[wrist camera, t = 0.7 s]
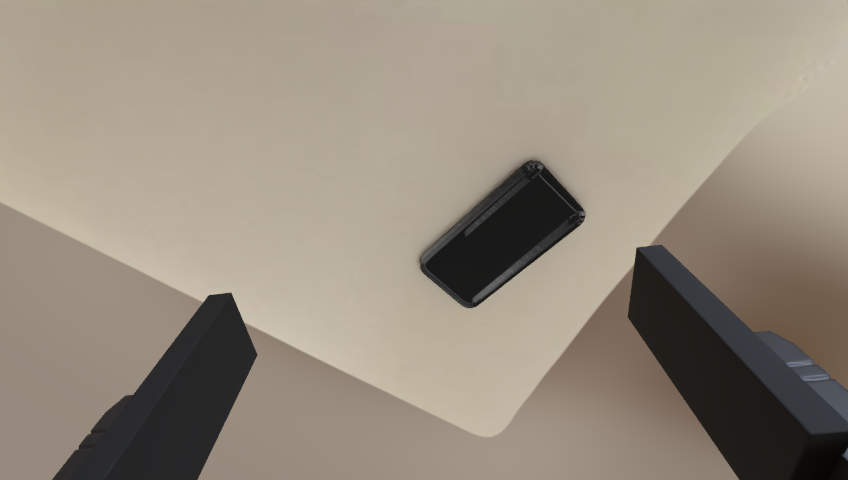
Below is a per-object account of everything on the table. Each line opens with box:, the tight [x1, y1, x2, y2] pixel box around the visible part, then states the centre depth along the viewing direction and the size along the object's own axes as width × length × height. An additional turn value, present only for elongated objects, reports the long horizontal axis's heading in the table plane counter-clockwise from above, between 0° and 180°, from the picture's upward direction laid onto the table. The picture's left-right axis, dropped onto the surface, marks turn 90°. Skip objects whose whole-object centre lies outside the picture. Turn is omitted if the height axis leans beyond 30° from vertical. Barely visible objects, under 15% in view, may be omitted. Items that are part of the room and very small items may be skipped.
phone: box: [420, 161, 585, 308], centre depth 40 cm, size 8×1×15 cm
